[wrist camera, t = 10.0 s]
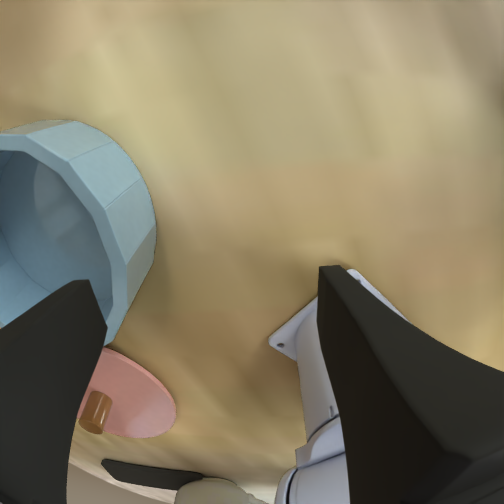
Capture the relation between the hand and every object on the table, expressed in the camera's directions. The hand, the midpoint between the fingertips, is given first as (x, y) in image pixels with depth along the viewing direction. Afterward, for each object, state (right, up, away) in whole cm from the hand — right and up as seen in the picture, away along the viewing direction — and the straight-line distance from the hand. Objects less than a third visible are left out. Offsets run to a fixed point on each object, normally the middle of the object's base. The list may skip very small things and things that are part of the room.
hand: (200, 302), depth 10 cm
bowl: (-11, +3, +9) cm, 15 cm away
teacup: (-3, -31, +27) cm, 41 cm away
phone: (-12, -31, +27) cm, 43 cm away
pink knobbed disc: (-13, -12, +16) cm, 24 cm away
